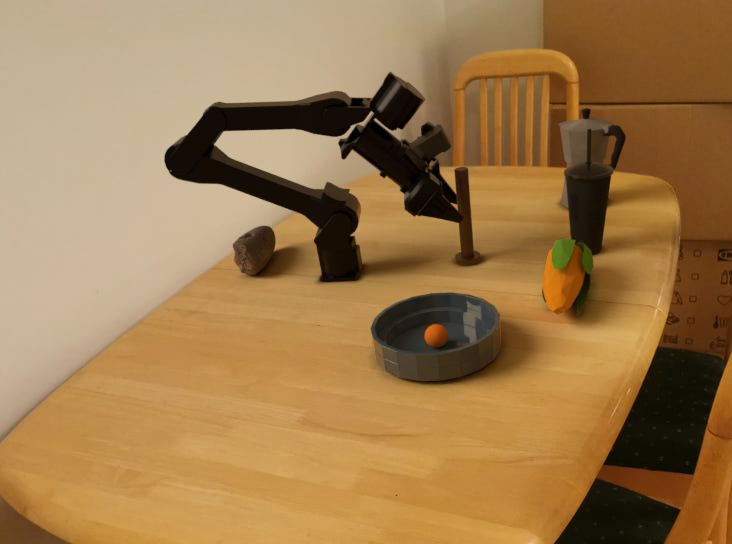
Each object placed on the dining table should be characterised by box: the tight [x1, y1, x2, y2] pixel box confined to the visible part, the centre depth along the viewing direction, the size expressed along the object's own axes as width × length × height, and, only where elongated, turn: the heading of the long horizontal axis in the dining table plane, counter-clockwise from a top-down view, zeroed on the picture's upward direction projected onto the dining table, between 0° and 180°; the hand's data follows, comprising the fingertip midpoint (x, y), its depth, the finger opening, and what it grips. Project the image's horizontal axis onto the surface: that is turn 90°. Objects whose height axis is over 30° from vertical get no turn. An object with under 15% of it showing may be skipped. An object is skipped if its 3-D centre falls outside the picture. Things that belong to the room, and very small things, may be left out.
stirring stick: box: [453, 166, 482, 267], centre depth 115 cm, size 4×4×16 cm
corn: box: [541, 238, 595, 316], centre depth 101 cm, size 7×8×20 cm
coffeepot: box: [557, 107, 627, 209], centre depth 131 cm, size 15×9×18 cm, turn 37°
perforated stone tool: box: [232, 225, 277, 276], centre depth 127 cm, size 15×5×7 cm, turn 167°
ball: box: [425, 324, 448, 348], centre depth 93 cm, size 3×3×3 cm
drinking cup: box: [563, 129, 614, 256], centre depth 112 cm, size 8×8×20 cm
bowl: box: [369, 291, 502, 382], centre depth 93 cm, size 17×17×4 cm
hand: (460, 211), depth 115 cm, fingers open, 9 cm apart
